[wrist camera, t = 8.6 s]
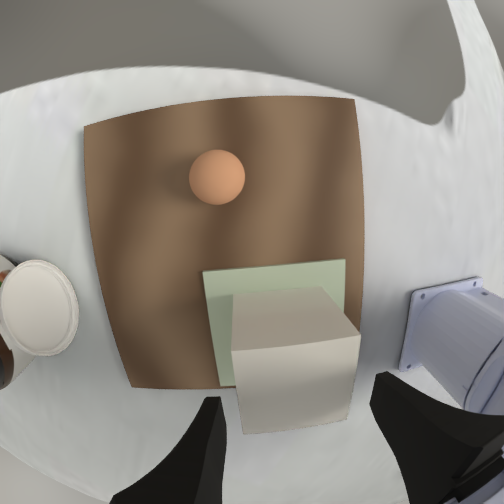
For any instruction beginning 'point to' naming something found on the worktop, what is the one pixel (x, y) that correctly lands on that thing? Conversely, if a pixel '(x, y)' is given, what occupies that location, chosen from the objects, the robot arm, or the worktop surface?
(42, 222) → the worktop surface
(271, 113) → the walnut board
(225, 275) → the sage pad
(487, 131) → the worktop surface
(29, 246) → the worktop surface
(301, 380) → the rounded beige cube
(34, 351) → the spread jar
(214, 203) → the terracotta ball
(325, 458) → the worktop surface
